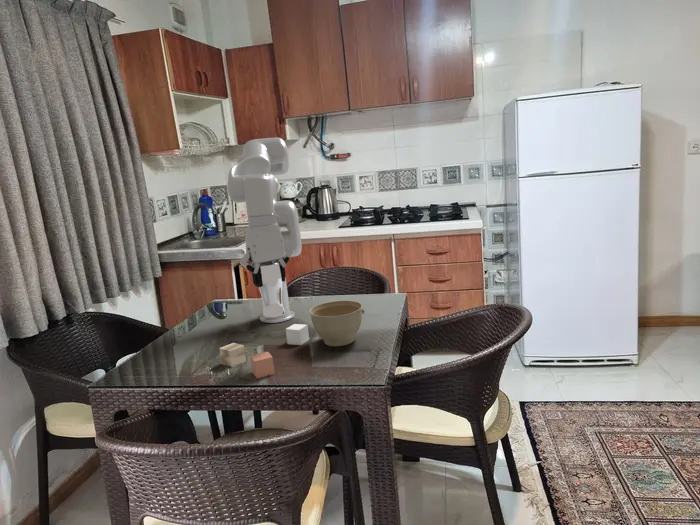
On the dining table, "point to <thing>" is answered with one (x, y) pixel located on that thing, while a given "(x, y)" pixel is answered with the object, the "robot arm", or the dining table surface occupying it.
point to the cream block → (297, 334)
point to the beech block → (232, 354)
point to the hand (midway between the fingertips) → (270, 283)
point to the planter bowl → (337, 321)
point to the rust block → (262, 364)
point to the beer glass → (271, 288)
